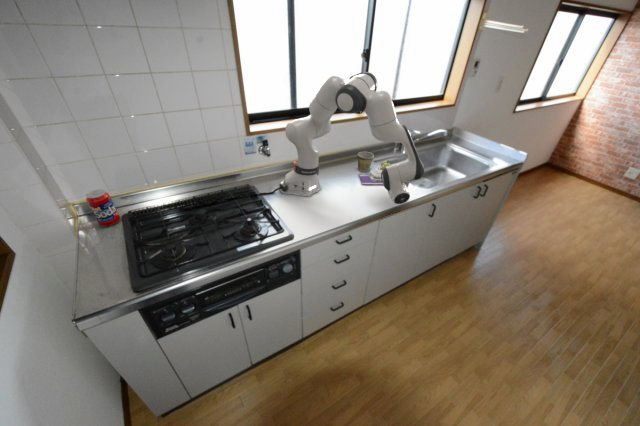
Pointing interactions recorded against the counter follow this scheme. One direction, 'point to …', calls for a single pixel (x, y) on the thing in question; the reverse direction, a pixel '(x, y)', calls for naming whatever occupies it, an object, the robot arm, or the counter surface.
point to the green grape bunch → (386, 164)
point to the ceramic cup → (364, 161)
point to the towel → (368, 180)
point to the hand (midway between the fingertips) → (385, 168)
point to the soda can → (102, 207)
